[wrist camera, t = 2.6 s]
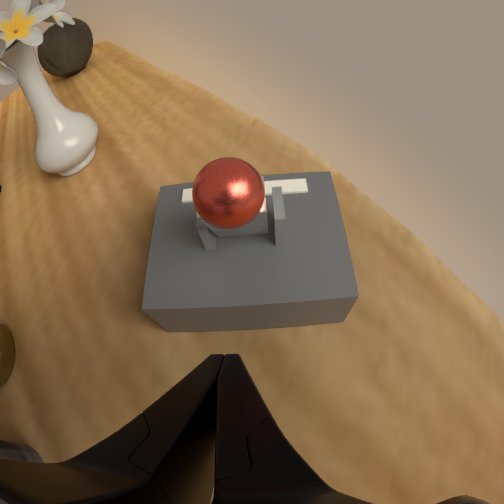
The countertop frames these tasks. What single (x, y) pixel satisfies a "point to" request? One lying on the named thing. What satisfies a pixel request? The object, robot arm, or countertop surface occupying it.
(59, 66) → the dark brown ball
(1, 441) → the beverage cup
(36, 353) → the countertop surface
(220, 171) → the switch lever
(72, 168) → the flower vase
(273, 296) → the switch box
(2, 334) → the salt shaker
